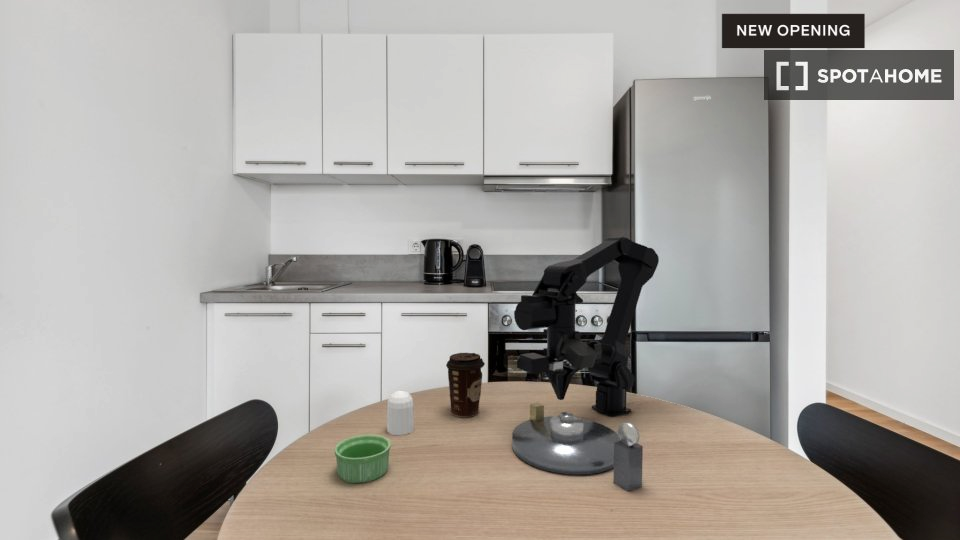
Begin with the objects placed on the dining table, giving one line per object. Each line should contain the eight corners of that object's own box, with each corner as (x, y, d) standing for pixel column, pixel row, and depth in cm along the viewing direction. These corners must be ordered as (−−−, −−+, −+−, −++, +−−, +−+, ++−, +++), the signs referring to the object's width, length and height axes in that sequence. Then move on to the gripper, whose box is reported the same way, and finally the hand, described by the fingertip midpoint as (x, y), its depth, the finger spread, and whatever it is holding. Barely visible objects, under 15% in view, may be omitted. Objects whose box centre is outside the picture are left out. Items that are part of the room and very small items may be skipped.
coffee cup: (486, 407, 103) (486, 352, 102) (482, 420, 95) (483, 360, 94) (449, 405, 104) (449, 351, 103) (443, 418, 96) (443, 359, 95)
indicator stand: (625, 477, 71) (626, 417, 71) (642, 487, 68) (644, 424, 68) (612, 481, 70) (613, 421, 69) (629, 492, 67) (630, 428, 66)
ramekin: (400, 463, 76) (400, 438, 75) (371, 490, 67) (371, 462, 67) (356, 455, 79) (356, 431, 78) (323, 480, 70) (322, 453, 70)
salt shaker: (415, 424, 92) (415, 387, 92) (412, 435, 87) (411, 395, 87) (389, 425, 92) (389, 387, 92) (385, 435, 87) (384, 395, 87)
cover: (568, 428, 85) (568, 406, 85) (590, 439, 80) (590, 417, 80) (543, 434, 82) (543, 412, 82) (564, 446, 77) (564, 423, 77)
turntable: (571, 419, 95) (571, 395, 95) (647, 456, 78) (647, 428, 77) (492, 438, 85) (492, 411, 85) (559, 486, 68) (559, 453, 68)
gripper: (550, 336, 80) (549, 420, 80) (623, 327, 89) (621, 403, 90) (515, 327, 89) (515, 402, 90) (584, 319, 99) (583, 388, 99)
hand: (560, 399), depth 92 cm, fingers closed
